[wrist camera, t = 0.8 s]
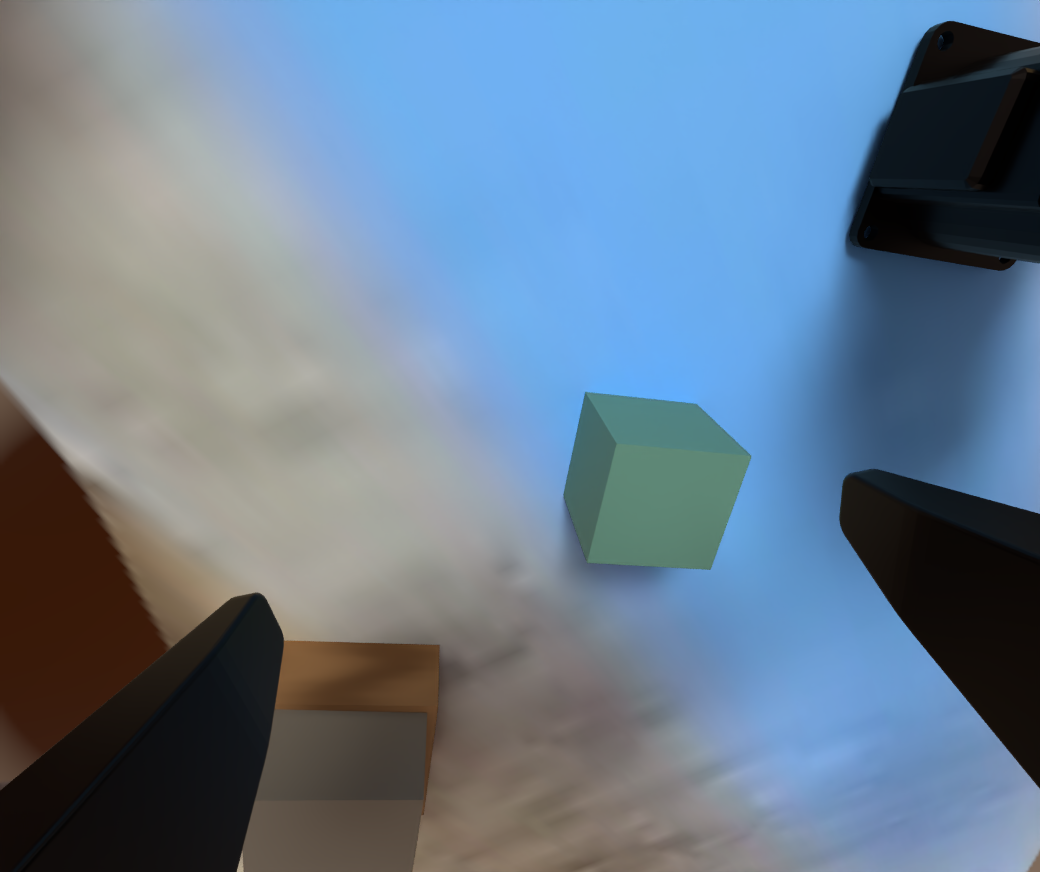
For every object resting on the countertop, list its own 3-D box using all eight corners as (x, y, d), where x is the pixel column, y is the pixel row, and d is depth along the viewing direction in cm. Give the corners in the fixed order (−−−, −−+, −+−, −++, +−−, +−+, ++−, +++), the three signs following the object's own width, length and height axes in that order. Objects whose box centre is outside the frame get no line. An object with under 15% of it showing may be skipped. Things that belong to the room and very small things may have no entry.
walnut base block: (439, 640, 26) (438, 706, 23) (426, 743, 29) (423, 814, 26) (278, 635, 25) (254, 704, 21) (281, 744, 27) (260, 818, 24)
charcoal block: (427, 712, 23) (423, 799, 20) (413, 806, 25) (408, 897, 22) (270, 709, 22) (240, 800, 19) (271, 807, 24) (245, 902, 21)
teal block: (696, 403, 22) (751, 456, 18) (666, 501, 24) (710, 569, 20) (585, 391, 21) (616, 443, 17) (562, 493, 23) (587, 562, 19)
